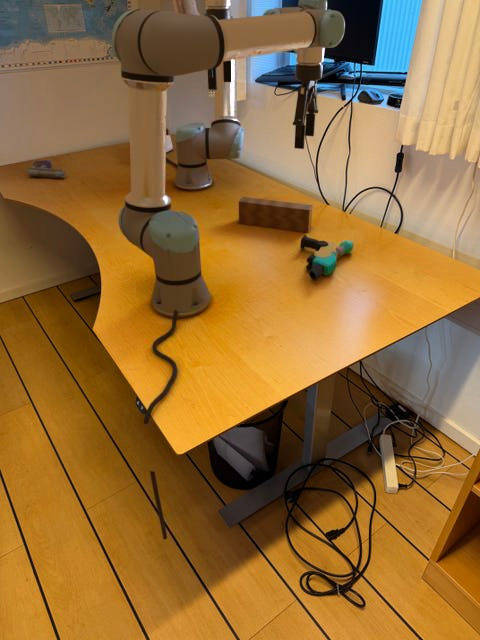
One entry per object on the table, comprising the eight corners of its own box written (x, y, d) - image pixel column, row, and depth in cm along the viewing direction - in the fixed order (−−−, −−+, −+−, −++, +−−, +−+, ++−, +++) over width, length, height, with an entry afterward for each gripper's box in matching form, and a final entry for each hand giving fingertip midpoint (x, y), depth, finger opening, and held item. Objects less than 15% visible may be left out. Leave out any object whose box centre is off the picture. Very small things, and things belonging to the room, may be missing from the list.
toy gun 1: (79, 169, 213) (62, 180, 201) (41, 166, 216) (22, 178, 205) (77, 160, 211) (60, 171, 199) (39, 158, 214) (20, 169, 202)
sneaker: (130, 164, 217) (126, 137, 210) (156, 146, 239) (153, 121, 232) (150, 166, 215) (147, 138, 208) (175, 148, 237) (173, 122, 230)
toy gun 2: (277, 262, 133) (328, 274, 127) (310, 227, 151) (356, 237, 146) (276, 276, 135) (326, 289, 130) (309, 240, 154) (354, 250, 148)
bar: (310, 227, 162) (312, 205, 157) (307, 232, 159) (309, 210, 154) (243, 218, 169) (242, 196, 164) (238, 223, 165) (238, 201, 161)
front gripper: (306, 56, 142) (301, 130, 155) (284, 70, 124) (281, 152, 136) (331, 57, 140) (324, 131, 153) (312, 71, 122) (307, 155, 134)
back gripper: (221, 5, 153) (223, 78, 165) (189, 10, 134) (194, 92, 146) (243, 5, 151) (243, 79, 163) (214, 10, 132) (217, 93, 144)
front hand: (304, 142), depth 145 cm, fingers open, 13 cm apart
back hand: (220, 85), depth 155 cm, fingers open, 13 cm apart
